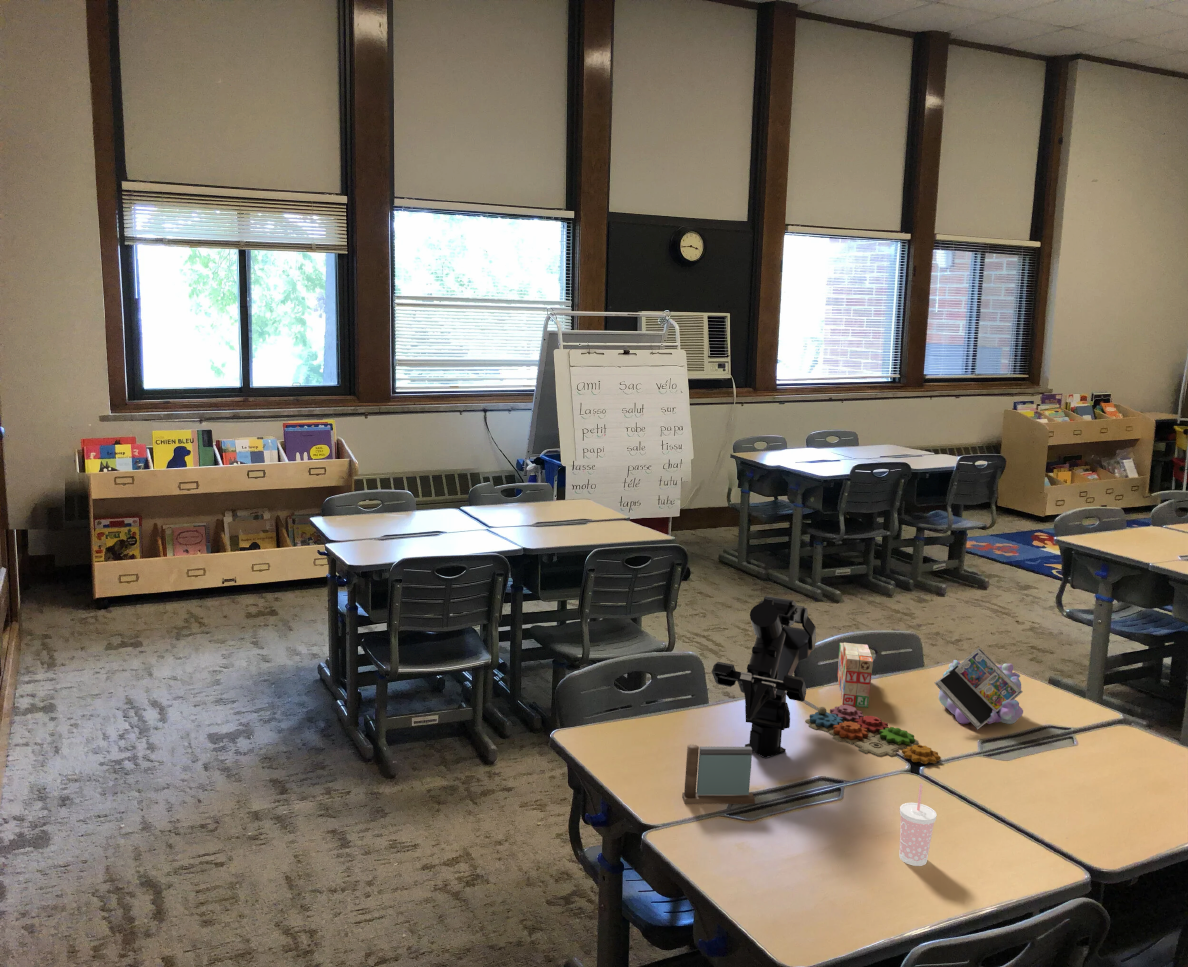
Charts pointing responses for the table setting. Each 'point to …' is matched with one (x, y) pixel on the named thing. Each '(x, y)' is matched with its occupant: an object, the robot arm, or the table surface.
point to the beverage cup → (916, 831)
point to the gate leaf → (724, 770)
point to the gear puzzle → (869, 734)
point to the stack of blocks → (854, 674)
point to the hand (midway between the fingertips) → (748, 719)
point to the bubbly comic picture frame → (980, 691)
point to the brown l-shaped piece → (693, 798)
